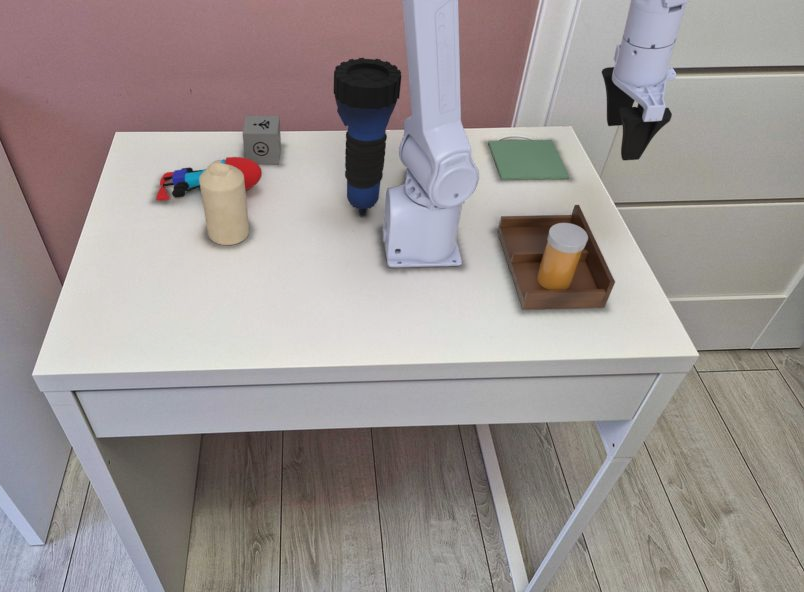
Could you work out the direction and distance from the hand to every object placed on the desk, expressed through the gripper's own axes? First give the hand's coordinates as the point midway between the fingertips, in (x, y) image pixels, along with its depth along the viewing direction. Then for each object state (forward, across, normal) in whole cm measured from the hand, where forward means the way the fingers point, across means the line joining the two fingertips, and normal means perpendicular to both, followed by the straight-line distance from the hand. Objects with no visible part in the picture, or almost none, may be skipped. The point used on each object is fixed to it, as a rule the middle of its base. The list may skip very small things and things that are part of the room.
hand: (622, 140), depth 89 cm
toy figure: (+5, +2, +56) cm, 56 cm away
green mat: (+10, +11, +9) cm, 18 cm away
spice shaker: (+8, -17, +11) cm, 21 cm away
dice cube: (+6, +11, +49) cm, 51 cm away
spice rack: (+9, -13, +10) cm, 19 cm away
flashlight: (+7, -2, +34) cm, 35 cm away
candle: (+5, -8, +52) cm, 53 cm away
